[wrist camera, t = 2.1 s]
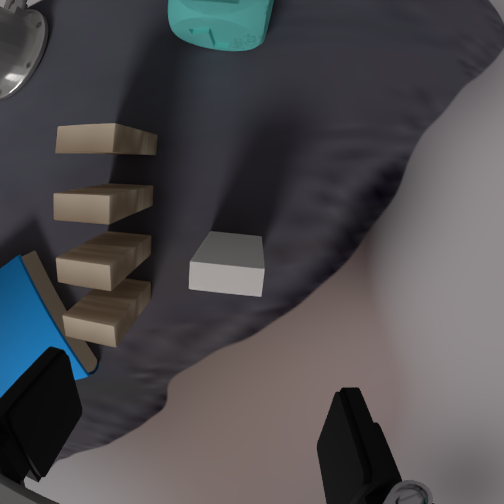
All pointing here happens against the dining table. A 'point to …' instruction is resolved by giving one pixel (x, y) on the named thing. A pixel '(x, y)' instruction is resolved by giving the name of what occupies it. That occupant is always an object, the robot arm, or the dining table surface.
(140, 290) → the domino
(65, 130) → the domino
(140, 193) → the domino
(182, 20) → the decorative dice
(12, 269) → the book
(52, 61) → the dining table surface
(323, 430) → the robot arm
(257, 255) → the end domino
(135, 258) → the domino
